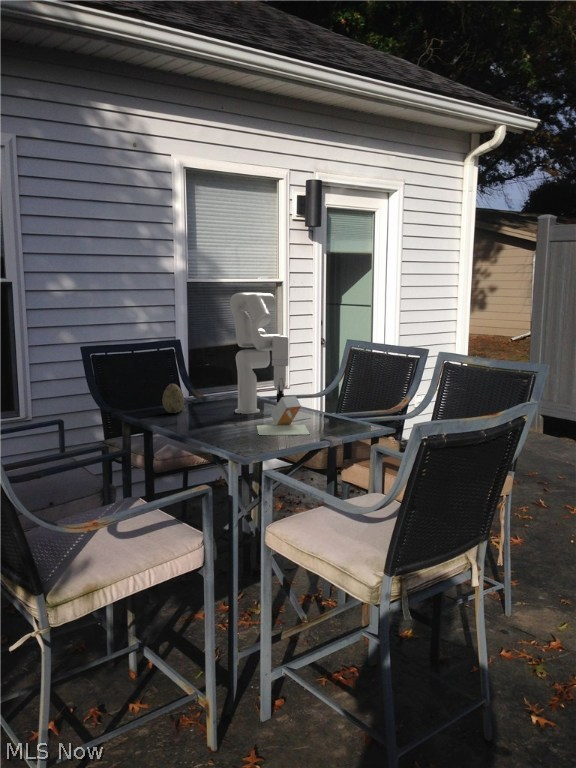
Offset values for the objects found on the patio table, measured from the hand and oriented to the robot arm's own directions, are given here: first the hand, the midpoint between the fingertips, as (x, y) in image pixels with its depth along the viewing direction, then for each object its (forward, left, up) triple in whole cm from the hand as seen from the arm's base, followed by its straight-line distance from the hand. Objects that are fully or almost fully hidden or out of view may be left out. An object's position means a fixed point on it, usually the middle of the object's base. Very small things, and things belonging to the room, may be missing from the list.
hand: (280, 402), depth 311 cm
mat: (+14, 0, -10) cm, 17 cm away
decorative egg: (-32, -51, -11) cm, 61 cm away
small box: (-1, 0, -8) cm, 8 cm away
